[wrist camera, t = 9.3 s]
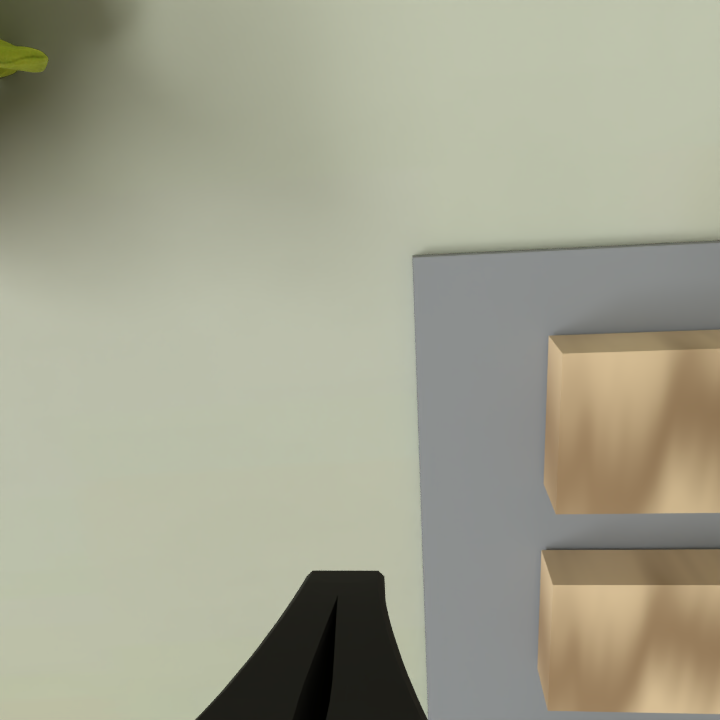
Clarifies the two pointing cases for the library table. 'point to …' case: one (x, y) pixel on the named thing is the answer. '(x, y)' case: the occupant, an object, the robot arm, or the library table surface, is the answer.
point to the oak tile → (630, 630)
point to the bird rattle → (20, 59)
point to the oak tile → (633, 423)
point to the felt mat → (525, 450)
